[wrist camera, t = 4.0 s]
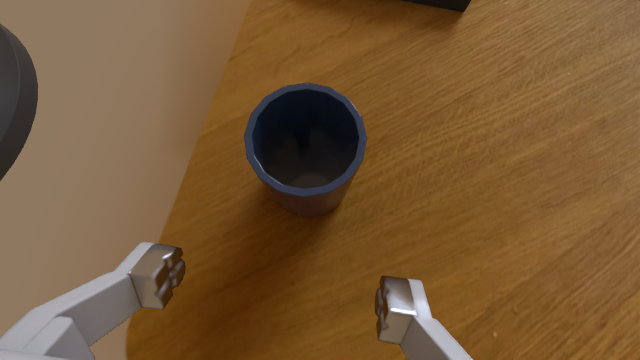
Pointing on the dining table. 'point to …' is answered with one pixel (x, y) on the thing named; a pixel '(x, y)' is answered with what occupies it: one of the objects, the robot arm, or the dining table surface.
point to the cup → (306, 147)
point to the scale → (445, 3)
